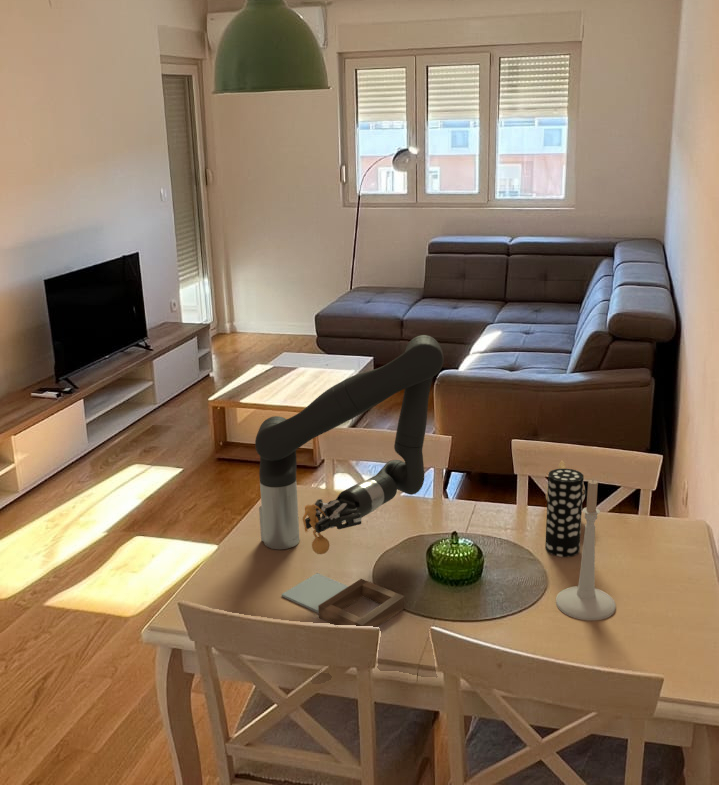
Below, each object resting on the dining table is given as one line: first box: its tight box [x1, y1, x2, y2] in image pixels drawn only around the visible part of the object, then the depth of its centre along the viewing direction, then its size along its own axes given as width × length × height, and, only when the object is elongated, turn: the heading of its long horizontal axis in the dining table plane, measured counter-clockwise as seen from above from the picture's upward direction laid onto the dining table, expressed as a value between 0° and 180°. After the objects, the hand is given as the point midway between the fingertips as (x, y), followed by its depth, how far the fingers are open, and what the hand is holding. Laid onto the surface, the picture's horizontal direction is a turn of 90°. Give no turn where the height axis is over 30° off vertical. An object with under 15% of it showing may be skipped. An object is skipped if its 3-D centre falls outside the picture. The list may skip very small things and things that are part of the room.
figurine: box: [302, 503, 331, 555], centre depth 192 cm, size 8×6×12 cm
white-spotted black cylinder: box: [544, 468, 585, 558], centre depth 212 cm, size 8×8×20 cm
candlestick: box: [555, 479, 617, 621], centre depth 186 cm, size 13×13×30 cm
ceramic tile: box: [281, 572, 350, 614], centre depth 197 cm, size 12×12×1 cm
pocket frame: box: [318, 578, 405, 628], centre depth 189 cm, size 12×14×3 cm
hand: (311, 526), depth 191 cm, fingers closed on figurine, 2 cm apart
